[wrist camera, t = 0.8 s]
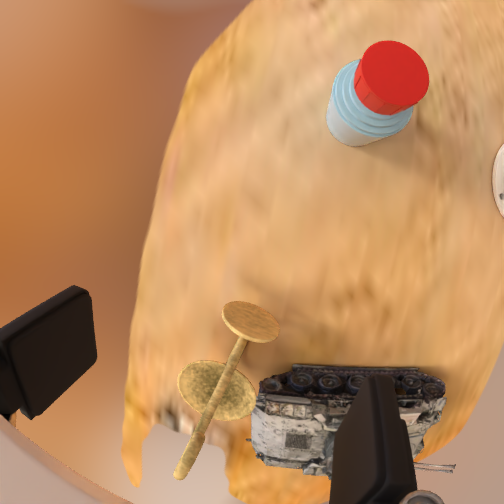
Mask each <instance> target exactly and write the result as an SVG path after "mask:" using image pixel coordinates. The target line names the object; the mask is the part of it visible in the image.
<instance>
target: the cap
mask: <svg viewBox="0 0 504 504" xmlns="http://www.w3.org/2000/svg"><path fill="white" fill-rule="evenodd" d="M354 74H355V76H354V89H355V92H356V95H357V97H358V98H359V100H360V101H361V103H362V104H363V105H364V106H365V107H367V108H368V109H369V110H371V111H373V112H374V113H378V114H381V115H390V116H391V115H394V114H397V113H399V112H401V111H404V110H406V109H408V108H410V107H411V106H413V105H415V104H417V103H418V101H420V100H421V99H422V98H423V97H424V95H425V94H426V92H427V89H428V86H429V74H428V70H427V67H426V65H425V63H424V62H423V60H422V59H421V57H420V56H419V55H418V54H417V53H416V52H415V51H414V50H413V49H411V48H410V47H408V46H406V45H405V44H402V43H399V42H396V41H380V42H377V43H375V44H373V45H371V46H370V47H369V48H368V49H367V50H366V51H365V53H364V55H363V57H362V60H361V59H360V61H359V64H358V66H357V68H356V71H355V73H354Z"/></svg>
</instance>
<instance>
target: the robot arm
mask: <svg viewBox="0 0 504 504" xmlns="http://www.w3.org/2000/svg"><path fill="white" fill-rule="evenodd" d="M492 185H493V193H494V198H495V201H496V204H497V207H498V209H499V211H500V213H501V215H502V216H503V217H504V144H503V145H502V147H501V148H500V149H499V151H498V153H497V155H496V159H495V162H494V166H493V173H492ZM499 195H500V196H499ZM96 359H97V349H96V341H95V333H94V322H93V311H92V300H91V297H90V296H89V292H88V291H87V290H85V289H83V288H80V287H78V286H75V285H73V286H71V287H69V288H67V289H65V290H64V291H62V292H60V293H58V294H57V295H55V296H53V297H51V298H50V299H48V300H46V301H45V302H43V303H41V304H40V305H38V306H36V307H35V308H33V309H31V310H30V311H28V312H26V313H25V314H23V315H21V316H20V317H18V318H16V319H15V320H13V321H11V322H10V323H8V324H7V325H5V326H3V327H2V328H0V504H133V503H131V502H129V501H127V500H125V499H123V498H121V497H119V496H117V495H115V494H113V493H111V492H110V491H108V490H106V489H104V488H102V487H100V486H99V485H97V484H95V483H93V482H92V481H90V480H88V479H86V478H85V477H83V476H82V475H80V474H78V473H77V472H75V471H74V470H72V469H71V468H69V467H67V466H66V465H64V464H63V463H61V462H60V461H58V460H57V459H56V458H54V457H53V456H51V455H50V454H49V453H47V452H46V451H44V450H43V449H42V448H40V447H39V446H38V445H36V444H35V443H34V442H32V441H31V440H30V439H29V438H27V437H26V436H25V435H24V434H22V433H21V432H20V431H19V430H18V429H16V428H15V425H16V411H17V410H18V409H19V408H20V411H21V413H22V414H24V415H25V416H26V417H28V418H29V419H30V420H32V419H33V418H34V417H35V416H38V415H41V414H42V413H43V412H44V411H45V410H46V409H47V408H48V407H49V406H50V405H51V404H52V403H53V402H54V401H55V400H56V399H58V397H60V396H61V395H62V394H63V393H64V392H65V391H66V390H67V389H68V388H69V387H70V386H71V385H72V384H73V383H74V382H75V381H76V380H78V379H79V378H80V377H81V376H82V375H83V374H84V373H85V372H86V371H87V370H88V369H89V368H90V367H91V366H92V365H93V364H94V363H95V362H96ZM329 504H444V502H443V500H442V499H441V498H440V497H439V496H438V495H437V494H435V493H433V492H431V491H426V490H417V482H416V475H415V469H414V462H413V456H412V450H411V445H410V439H409V434H408V429H407V424H406V421H405V420H404V419H401V417H400V412H399V407H398V402H397V397H396V393H395V388H394V384H393V379H392V377H391V376H389V375H383V374H377V373H373V374H372V375H371V377H365V379H364V381H363V383H362V385H361V387H360V389H359V391H358V393H357V395H356V397H355V399H354V400H353V402H352V404H351V406H350V408H349V410H348V412H347V414H346V415H345V417H344V419H343V421H342V423H341V424H340V426H339V428H338V430H337V431H336V434H335V437H334V446H333V463H332V477H331V490H330V501H329Z"/></svg>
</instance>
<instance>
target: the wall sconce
mask: <svg viewBox="0 0 504 504" xmlns="http://www.w3.org/2000/svg"><path fill="white" fill-rule="evenodd" d="M222 318H223V320H224V322H225V324H226V325H227V326H228V327H229V328H230V330H232V331H233V332H234V333H235V334H237V335H238V336H239V338H238V340H237V342H236V344H235V346H234V348H233V350H232V352H231V354H230V356H229V358H228V360H227V362H226V364H223V363H220V362H216V361H208V360H205V361H196V362H193V363H190V364H189V365H187V366H185V367H184V368H183V369H182V370H181V372H180V374H179V376H178V381H177V383H178V389H179V392H180V394H181V396H182V398H183V399H184V400H185V402H186V403H187V404H188V405H189V406H190V407H191V408H193V409H194V410H195V411H197V412H198V413H200V414H202V417H201V419H200V421H199V423H198V425H197V427H196V429H195V431H194V433H193V435H192V437H191V439H190V441H189V443H188V445H187V447H186V449H185V451H184V453H183V455H182V457H181V459H180V461H179V463H178V465H177V467H176V469H175V471H174V474H173V476H174V478H175V479H177V480H183V479H184V478H185V477H186V476H187V474H188V472H189V471H190V469H191V467H192V465H193V464H194V462H195V460H196V458H197V456H198V454H199V452H200V450H201V448H202V445H203V443H204V441H205V435H204V433H205V431H206V429H207V427H208V425H209V423H210V421H211V419H216V420H221V421H233V420H238V419H242V418H244V417H246V416H247V415H249V414H250V413H251V412H252V411H253V409H254V407H255V405H256V393H255V390H254V387H253V386H252V384H251V382H250V381H249V380H248V379H247V378H246V377H245V376H244V375H243V374H242V373H241V372H239V371H238V370H236V366H237V364H238V362H239V360H240V357H241V355H242V353H243V351H244V348H245V346H246V344H247V341H248V340H249V341H253V342H258V343H267V342H271V341H273V340H275V339H276V338H277V336H278V335H279V332H280V327H279V325H278V323H277V321H276V320H275V318H274V317H273V316H272V315H270V314H269V313H268V312H267V311H265V310H263V309H262V308H260V307H258V306H256V305H253V304H250V303H247V302H241V301H234V302H230V303H228V304H226V305H225V306H224V308H223V310H222Z"/></svg>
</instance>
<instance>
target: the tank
mask: <svg viewBox="0 0 504 504" xmlns="http://www.w3.org/2000/svg"><path fill="white" fill-rule="evenodd" d="M292 370H293V371H291V372H286V373H283V374H280V375H273V376H272V377H271V378H266V379H264V380H263V381H260V383H259V385H260V389H259V394H258V396H256V405H255V407H254V409H253V411H252V412H251V438H252V439H249V440H248V439H246V441H251V443H252V446H253V448H254V450H255V452H256V454H257V455H256V458H259V459H261V460H262V461H263V462H264V463H265V465H267V466H274V467H283V468H293V469H303V474H304V475H315V476H328V477H329V480H331V477H332V463H333V446H334V437H335V434H336V431H337V430H338V428H339V426H340V424H341V423H342V421H343V419H344V417H345V415H346V414H347V412H348V410H349V408H350V406H351V404H352V402H353V400H354V399H355V397H356V395H357V393H358V391H359V389H360V387H361V385H362V383H363V381H364V379H365V377H371V375H372V374H373V373H377V374H383V375H389V376H391V377H392V379H393V384H394V388H397V389H403V390H404V391H405V392H406V395H398V394H396V397H397V402H398V407H399V412H400V417H401V419H404V420H405V421H406V424H407V429H408V434H409V439H410V445H411V450H412V456H413V459H414V458H415V457H416V456H417V455H418V454H419V453H420V451H421V450H422V449H423V448H424V443H423V437H424V435H425V433H426V431H427V429H429V428H430V427H431V426H432V425H434V424H436V423H437V422H439V421H440V418H441V415H439V413H440V414H442V409H443V407H444V406H445V404H446V399H447V398H446V397H443V395H444V394H445V383H444V382H443V381H442V380H440V379H438V378H436V377H434V376H429V375H427V374H425V373H422V372H418V370H419V368H408V369H406V368H396V369H393V368H388V369H387V368H352V367H330V366H326V367H325V366H311V365H298V364H293V367H292ZM421 375H422V376H421ZM442 397H443V398H442ZM438 411H439V413H438ZM438 418H439V420H438ZM421 453H422V452H421ZM260 454H261V456H260ZM414 465H424V466H434V467H449V468H455V466H456V464H455V465H431V464H423V463H416V462H414ZM297 467H299V468H297ZM414 469H415V470H425V471H438V472H447V473H453V471H452V470H432V469H425V468H415V467H414Z"/></svg>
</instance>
